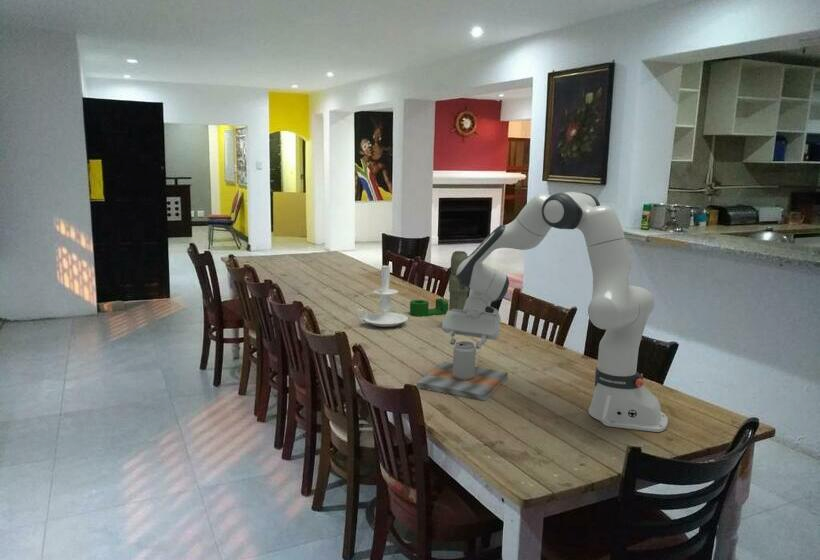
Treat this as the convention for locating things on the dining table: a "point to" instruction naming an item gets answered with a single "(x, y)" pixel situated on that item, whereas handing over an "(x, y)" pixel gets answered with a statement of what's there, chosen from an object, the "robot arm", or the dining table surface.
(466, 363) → the can
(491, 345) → the dining table surface
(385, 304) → the candlestick
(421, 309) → the slotted cylinder bracket
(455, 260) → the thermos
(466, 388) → the grey orange flat square
